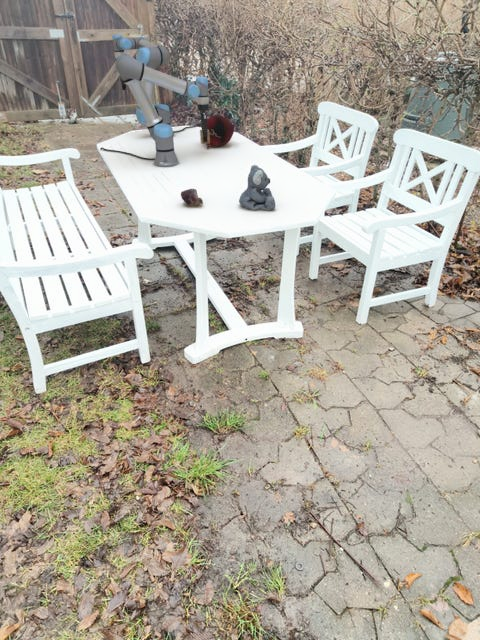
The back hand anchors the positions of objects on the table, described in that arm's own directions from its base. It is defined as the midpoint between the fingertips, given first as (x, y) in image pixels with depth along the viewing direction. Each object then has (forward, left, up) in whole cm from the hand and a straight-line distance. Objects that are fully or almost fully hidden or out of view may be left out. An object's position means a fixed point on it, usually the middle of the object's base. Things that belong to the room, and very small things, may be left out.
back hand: (124, 88), depth 359 cm
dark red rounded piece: (+6, +92, -32) cm, 97 cm away
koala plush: (+103, +178, -32) cm, 208 cm away
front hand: (+31, +98, -23) cm, 105 cm away
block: (+31, +98, -24) cm, 106 cm away
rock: (+118, +148, -32) cm, 192 cm away
